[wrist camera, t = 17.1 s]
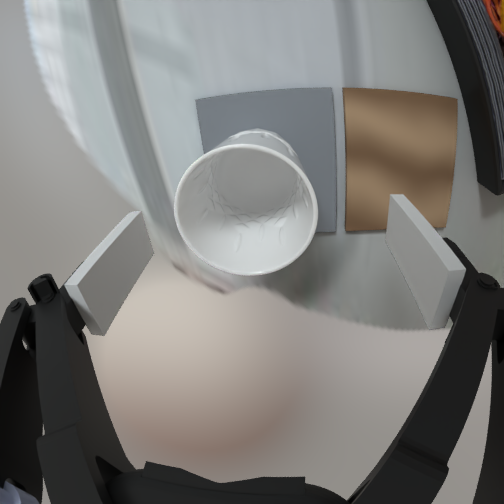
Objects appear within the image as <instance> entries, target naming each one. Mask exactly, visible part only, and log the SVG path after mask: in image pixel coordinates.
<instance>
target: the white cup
mask: <svg viewBox="0 0 504 504" xmlns="http://www.w3.org/2000/svg"><path fill="white" fill-rule="evenodd" d="M174 214H175V220H176V224H177V227H178V230H179V232H180V234H181V236H182V238H183V240H184V241H185V243H186V244H187V246H188V247H189V248H190V249H191V251H192V252H193V253H194V254H195V255H196V256H198V257H199V258H200V259H201V260H202V261H204V262H205V263H207V264H208V265H210V266H212V267H214V268H216V269H218V270H221V271H224V272H227V273H230V274H235V275H242V276H257V275H264V274H268V273H272V272H275V271H278V270H280V269H282V268H284V267H286V266H288V265H289V264H291V263H292V262H294V261H295V260H296V259H297V258H298V257H299V256H300V255H301V254H302V253H303V252H304V251H305V250H306V248H307V247H308V246H309V244H310V242H311V240H312V238H313V236H314V233H315V230H316V227H317V222H318V204H317V199H316V195H315V192H314V189H313V187H312V185H311V183H310V181H309V178H308V176H307V174H306V172H305V169H304V167H303V165H302V163H301V161H300V159H299V158H298V156H297V154H296V153H295V151H294V150H293V149H292V147H291V145H290V144H289V143H288V142H287V141H286V140H284V139H283V138H282V137H281V136H280V135H278V134H277V133H276V132H272V131H268V130H264V129H260V128H255V129H250V130H245V131H241V132H238V133H237V134H235V135H233V136H231V137H229V138H227V139H225V140H224V141H222V142H221V143H219V144H218V145H216V146H215V147H214V148H212V149H211V150H210V151H208V152H207V153H205V154H204V155H203V156H201V157H200V158H199V159H197V160H196V161H195V162H194V163H193V164H192V165H191V166H190V167H189V168H188V169H187V171H186V172H185V173H184V175H183V176H182V178H181V180H180V182H179V185H178V187H177V190H176V194H175V200H174Z"/></svg>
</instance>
